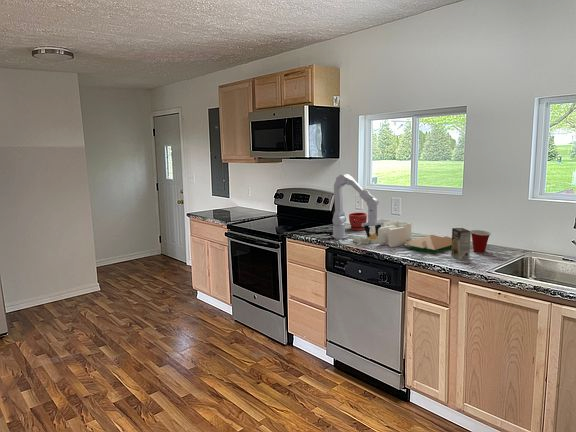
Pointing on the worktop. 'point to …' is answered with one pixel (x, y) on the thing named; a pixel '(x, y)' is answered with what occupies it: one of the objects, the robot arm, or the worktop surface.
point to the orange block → (372, 236)
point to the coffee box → (460, 243)
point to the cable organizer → (392, 236)
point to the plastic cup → (479, 240)
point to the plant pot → (357, 220)
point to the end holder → (372, 240)
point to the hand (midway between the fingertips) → (372, 236)
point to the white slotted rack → (397, 224)
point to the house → (430, 243)
